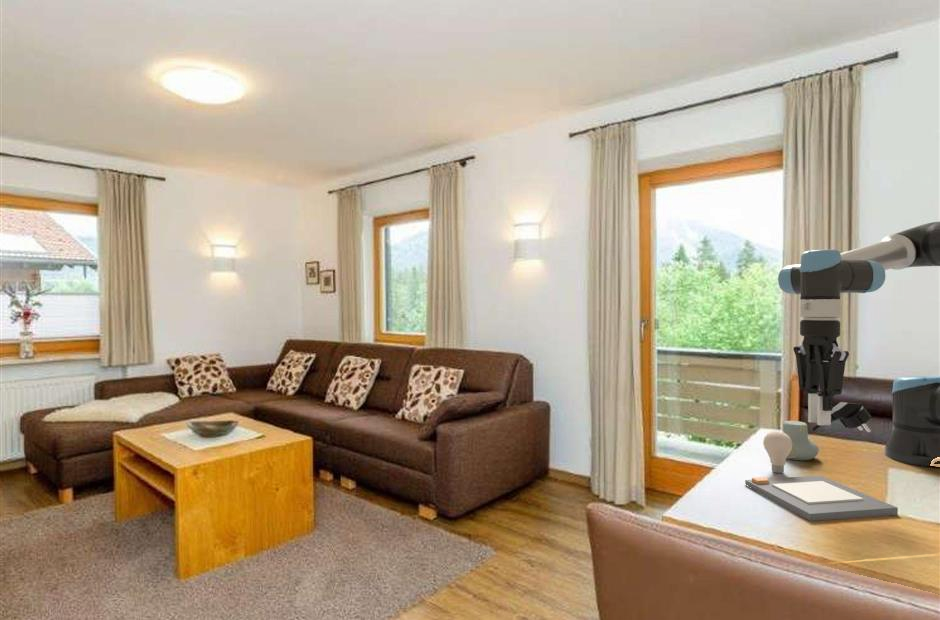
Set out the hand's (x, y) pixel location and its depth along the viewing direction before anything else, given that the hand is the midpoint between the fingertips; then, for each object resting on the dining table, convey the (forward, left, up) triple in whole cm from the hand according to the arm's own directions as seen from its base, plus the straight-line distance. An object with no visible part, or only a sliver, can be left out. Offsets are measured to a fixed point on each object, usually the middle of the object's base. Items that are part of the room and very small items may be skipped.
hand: (819, 423), depth 116 cm
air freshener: (-16, -27, -17) cm, 36 cm away
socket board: (+2, +1, -17) cm, 17 cm away
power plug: (0, 0, -4) cm, 4 cm away
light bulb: (-2, -16, -17) cm, 24 cm away
